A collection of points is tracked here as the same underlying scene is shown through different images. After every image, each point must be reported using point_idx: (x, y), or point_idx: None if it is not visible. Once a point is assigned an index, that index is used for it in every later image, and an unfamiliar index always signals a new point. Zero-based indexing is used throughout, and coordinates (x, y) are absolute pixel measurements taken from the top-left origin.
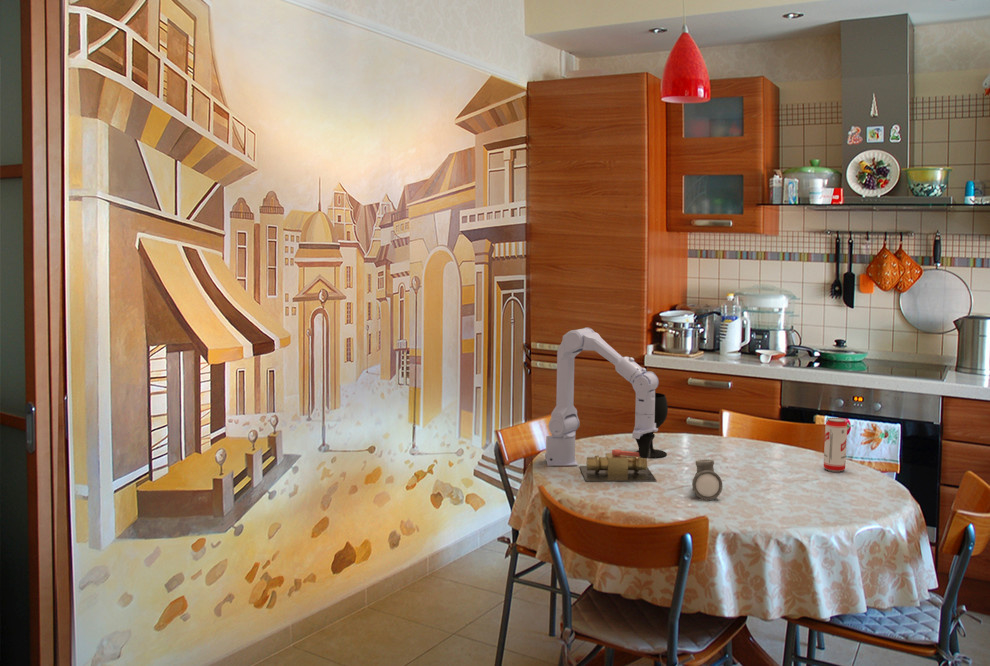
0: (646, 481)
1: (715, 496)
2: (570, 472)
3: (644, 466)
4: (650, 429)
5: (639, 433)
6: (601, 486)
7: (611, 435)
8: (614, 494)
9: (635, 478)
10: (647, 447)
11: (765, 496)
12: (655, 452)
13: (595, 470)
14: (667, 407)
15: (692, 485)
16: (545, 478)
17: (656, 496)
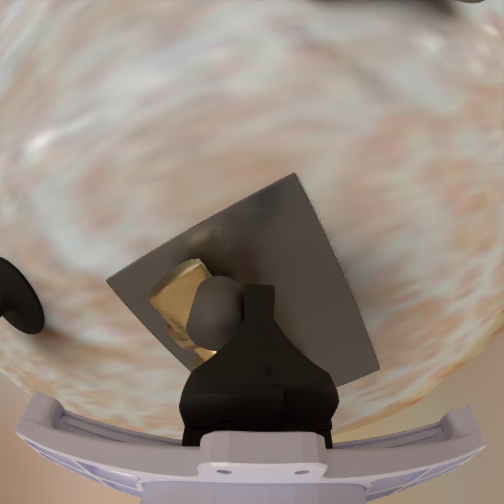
0: (314, 214)
1: None
2: None
3: (209, 273)
4: (341, 482)
5: (476, 441)
6: (412, 323)
7: (7, 377)
8: (475, 266)
9: (307, 265)
10: (279, 332)
11: None
12: (4, 289)
13: None
14: None
15: (477, 2)
16: (364, 419)
17: (474, 135)
